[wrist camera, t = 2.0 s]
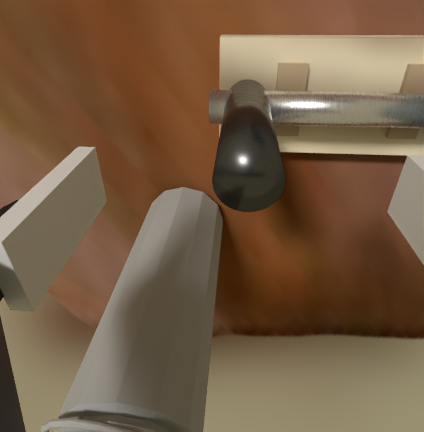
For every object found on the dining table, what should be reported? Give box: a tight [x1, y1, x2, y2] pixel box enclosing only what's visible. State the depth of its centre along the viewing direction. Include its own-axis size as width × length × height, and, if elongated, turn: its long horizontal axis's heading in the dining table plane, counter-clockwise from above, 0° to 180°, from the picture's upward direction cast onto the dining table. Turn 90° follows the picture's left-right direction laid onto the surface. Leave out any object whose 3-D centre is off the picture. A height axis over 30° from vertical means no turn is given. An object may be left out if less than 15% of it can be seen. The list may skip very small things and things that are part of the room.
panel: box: [219, 35, 424, 156], centre depth 24 cm, size 8×16×2 cm, turn 90°
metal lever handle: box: [209, 79, 424, 212], centre depth 18 cm, size 18×7×13 cm, turn 90°
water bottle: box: [41, 187, 223, 432], centre depth 22 cm, size 9×8×25 cm
